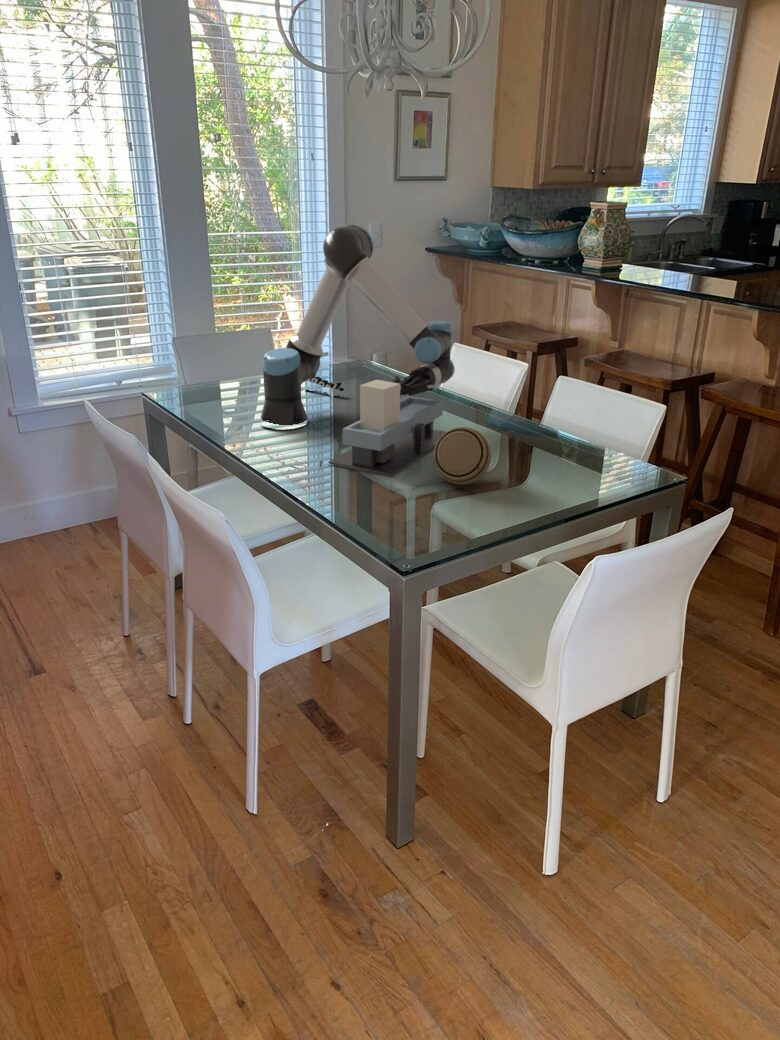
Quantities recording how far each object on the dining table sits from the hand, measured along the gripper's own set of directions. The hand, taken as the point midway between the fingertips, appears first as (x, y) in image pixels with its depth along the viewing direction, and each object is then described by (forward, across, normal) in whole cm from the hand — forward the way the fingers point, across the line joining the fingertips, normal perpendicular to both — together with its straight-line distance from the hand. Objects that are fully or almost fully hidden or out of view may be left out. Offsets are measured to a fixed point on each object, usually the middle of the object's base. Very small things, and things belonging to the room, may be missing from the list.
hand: (388, 395), depth 223 cm
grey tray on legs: (-5, 0, -16) cm, 17 cm away
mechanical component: (+11, -28, -18) cm, 35 cm away
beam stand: (-4, 0, -18) cm, 18 cm away
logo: (-48, +54, -18) cm, 75 cm away
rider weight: (+4, 0, -8) cm, 9 cm away
